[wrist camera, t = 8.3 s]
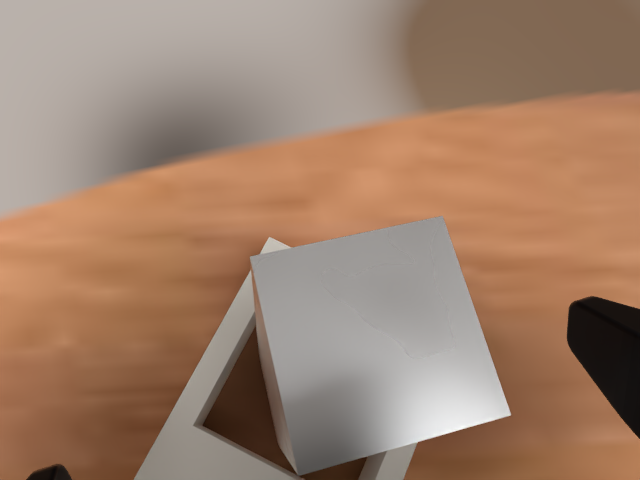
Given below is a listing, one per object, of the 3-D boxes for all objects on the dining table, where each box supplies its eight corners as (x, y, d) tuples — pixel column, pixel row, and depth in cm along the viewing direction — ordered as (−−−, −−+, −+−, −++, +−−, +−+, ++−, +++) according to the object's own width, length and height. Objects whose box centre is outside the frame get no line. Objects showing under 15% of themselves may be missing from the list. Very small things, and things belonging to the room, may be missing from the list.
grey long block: (362, 422, 19) (511, 415, 7) (278, 444, 18) (298, 476, 7) (340, 337, 20) (442, 215, 8) (259, 357, 19) (249, 256, 8)
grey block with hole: (305, 672, 16) (312, 714, 14) (102, 560, 17) (75, 583, 14) (437, 342, 20) (460, 331, 17) (268, 258, 20) (269, 236, 18)
